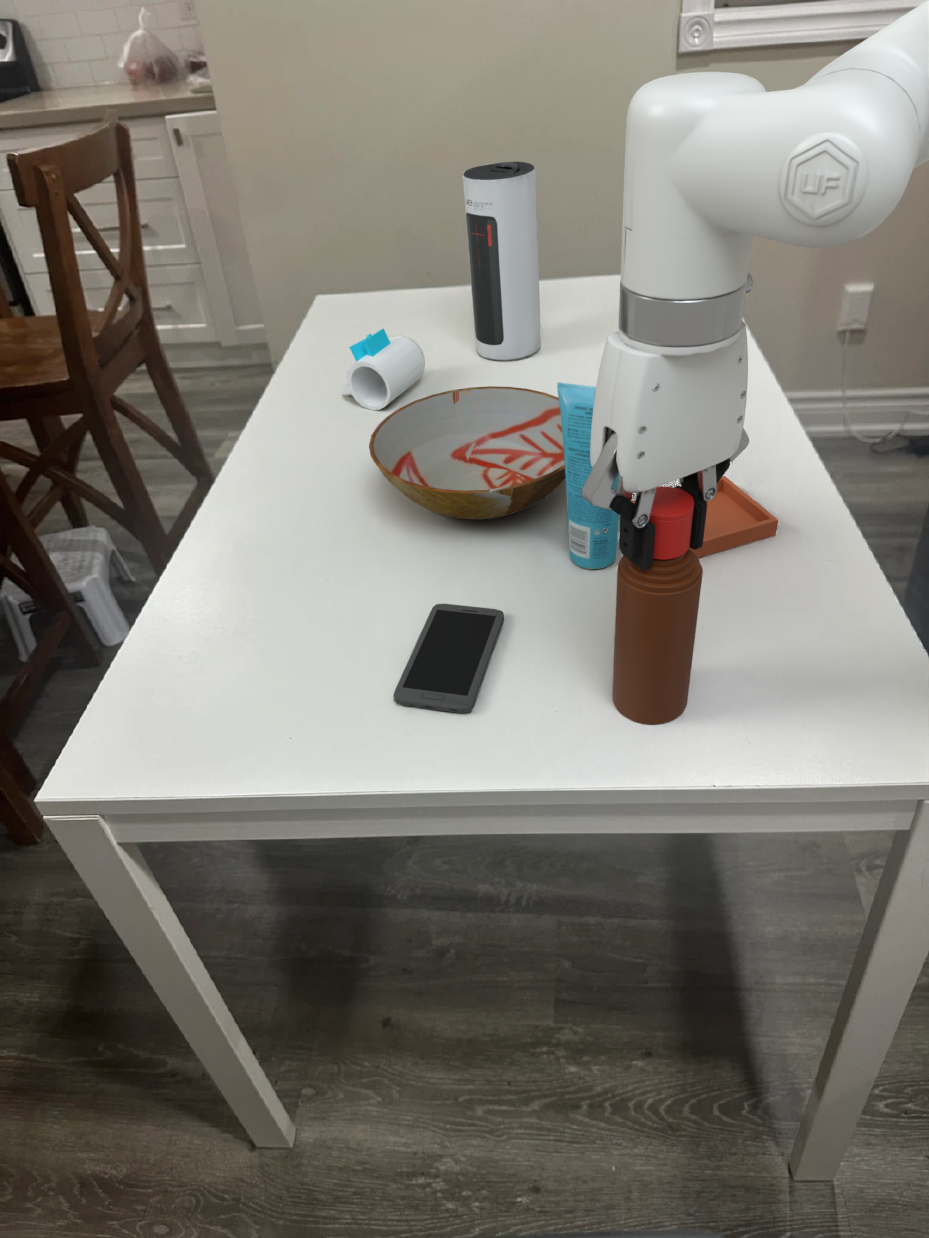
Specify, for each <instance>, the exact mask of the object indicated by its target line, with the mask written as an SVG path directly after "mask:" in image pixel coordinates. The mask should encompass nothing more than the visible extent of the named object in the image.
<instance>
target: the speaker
mask: <svg viewBox="0 0 929 1238" xmlns="http://www.w3.org/2000/svg"><path fill="white" fill-rule="evenodd" d="M462 184H463V185H462V186H463V199H464V211H465V224H466V225H465V226H466V238H467V250H468V263H469V264H468V265H469V276H470V289H471V301H472V314H473V327H474V339H475V351H476V353H477V354H478V355H479V356H480V357H482V358H483V359H486V360H490V361H496V362H498V361H499V362H507V361H518V360H523V359H525V358H527V359H528V358H530V357H532V356H534V355H535V354H537V353H538V352H539V351H540V349H541V346H542V335H541V332H542V331H541V304H540V303H541V299H540V270H539V269H540V266H539V244H538V243H539V239H538V208H537V204H538V203H537V177H536V166H535V165H533V164H532V163H529V162H525V161H503V162H493V163H485V164H480V165H477V166H473V167H470V168H468V169H465V170H464V171H463V172H462Z"/></svg>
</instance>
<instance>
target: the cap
mask: <svg viewBox="0 0 929 1238" xmlns="http://www.w3.org/2000/svg"><path fill="white" fill-rule="evenodd" d="M675 487H676V486H674V487H673V486H664V485H661V486H658V487H657V489H656V493H655V497H654V501H653V506H652V510H651V514H650V519H649V520H650V521H651V522H652V523H654V525H655V528H656V529H655V542H654V555H653V559H660V560H667V559H674V558H677V557H680V556H682V555H683V554H685V553H686V552H687V550H688V549H689V546H690V537H691V528H692V518H693V508H694V500H693V497H692V496H691V495H690V494H689V493H687V492H686V491H684V490H682V489H679V488H675Z"/></svg>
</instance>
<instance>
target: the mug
mask: <svg viewBox="0 0 929 1238" xmlns="http://www.w3.org/2000/svg"><path fill="white" fill-rule="evenodd" d="M348 348H349V350H350V353H351V354H352V356H353V358H354V361H355V362H354V363H353V364H351V365H350V367H348V370H347V373H346V385H345V387H344V388H343V389H342V390H341V395H342V396H345V397H349V396H352V397H353V399H354V400H355V401H356V402H357V403H358V404H359V405H360V406H362V407H364V408H365V409H367V410H372V411H380V410H382V409H384V408H385V407H387V406H388V405H389V404H390V403H392V402H393V401H394V400H395V399H396V398H398V397H399V396H400V395H402V394H403V393H404V392H405V391H407V390H408V389H409V388H410V387H411V386H412V385H414V384H415V383H416V382H418V381H419V380H420V378H421V377H422V376H423V374H424V372H425V368H426V358H425V354H424V351H423V349H422V347H421V346H420V344H419V343H418V342H416V341H415V340H414V339H413V338H411V337H408V336H406V335H394V336H391V337H388V334H387V332H386V331H385V328H381V329H380V330H378V331H376V332H375V333H373V334H372V333H369V334H367V335H366V337H365V338H364V339H361V340H360V341H358V342H355V343H354V344H352V345H351V346H349V347H348Z"/></svg>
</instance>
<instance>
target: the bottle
mask: <svg viewBox="0 0 929 1238" xmlns="http://www.w3.org/2000/svg"><path fill="white" fill-rule="evenodd" d="M616 570H617V571H616V594H615V620H614V642H613V643H614V644H613V645H614V646H613V665H612V666H613V667H612V692H611V693H612V695H611V696H612V697H611V698H612V699H611V700H612V703H613V705H614V707H615V709H616V710H617V711H618V712H619V713H620V714H621V715H622V716H623V717H625V718H626V719H628V720H630V721H632V722H634V723H638V724H643V725H650V726H654V725H664V724H667V723H670V722H673V721H674V720H676V719H678V718H679V717H681V716H682V714H684V712H685V710H686V709H687V705H688V699H689V691H690V690H689V689H690V682H691V674H692V668H693V667H692V665H693V658H694V649H695V640H696V632H697V625H698V617H699V606H700V598H701V591H702V583H703V574H704V573H703V572H704V571H703V566H702V564H701V562H700V558H698V557H697V556H696V555H695V554H694V553H693V552H692V551H691V550H690V549H688V550H687V552H686V553H685V554H683V555H682V556H680V557H677V558H674V559H667V560H660V559H653V565H652V567H651V569H648V570H646V571H643V570H641V569H640V568H639V567H638V566H636V565H635V564H634V563H633V562H631V561H630V560H629V559H628V558H626V557H625V556H624V555H623V554H622V556H621V558H620V560H619V561H618V564H617V569H616Z"/></svg>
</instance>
